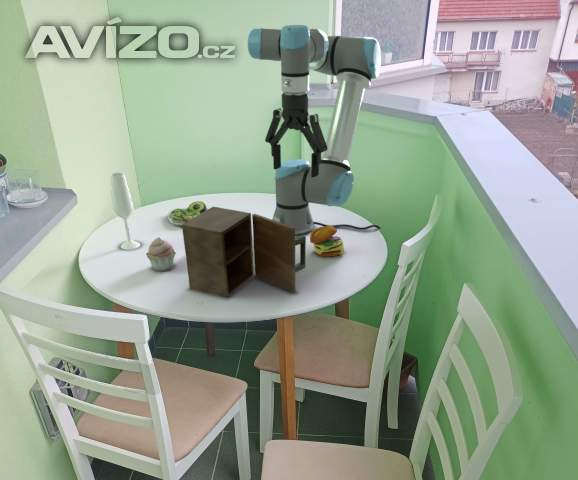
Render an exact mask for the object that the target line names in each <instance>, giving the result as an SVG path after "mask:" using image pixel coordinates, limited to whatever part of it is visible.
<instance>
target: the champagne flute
mask: <svg viewBox="0 0 578 480" xmlns="http://www.w3.org/2000/svg"><path fill="white" fill-rule="evenodd" d="M109 184H110V192H111V193H110V194H111V203H112V210H113V212H114V214H115V215H116V216H118V217H119V218H121V219H123V223H124V228H125V229H124V230H125V233H126V239H127V240H125V242H124V243H122V244H120V249H122V250H126V251H131V250H136V249H139V248H140V246H141V243H140V242H138V241H135V240H133V239H132V238H131V232H130V227H129V226H130V225H129V221H128V218H129V217H130V216H131V215H132V214H133V213H134V210H135V207H134V204H133V200H132V195H131V192H130V189H129V186H128V181H127V177H126V174H125V173H124V172H112V173H110V174H109Z"/></svg>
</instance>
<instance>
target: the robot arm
mask: <svg viewBox="0 0 578 480" xmlns="http://www.w3.org/2000/svg"><path fill="white" fill-rule="evenodd" d="M247 50H248V51H247V52H248V54H249V55H250V57H251V58H252V59H254V60H260V61H262V60H264V61H273V62H280V66H281V67H280V69H281V70H280V78H281V91H282V94H281V107H279V108H276V109H273V111H272V119H271V122H270V125H269V128H268V130H267V133H266V136H265V138H264V142H265V143H268V144H270V146H271V147H270V152H271V153H270V154H271V157H273V158H272V159H273V161H272V162H273V164H272V165H273V170H275V175H274V181H275V210H274V213H273V216H272V220H274V221H277V222H280V223H283V224H286V225H289V226H292V227H295V236H300V235H306V234H308V233H310V232H312V231H313V230H314V225H317V226H320V227H324V226H329V224H325V223H322V222H318V221H314V219H313V216H312V213H311V209H310V204H316V205H323V206H327V207H337V208H338V207H342V206H343V205H345V204H346V203H347V202H348V201H349V198H350V196H351V194H352V191H353V188H354V180H355V178H354V177H355V176H354V174H353V172H352V171H351V169H352V167H351V166H350V164H349V157H350V154H351V149H352V146H353V140H354V136H355V132H356V128H357V124H358V119H359V116H360V115H359V114H360V110H361V105H362V102H363V98H364V93H365V90H367V89H368V88H370V87H371V82H372V80H375V79H378V77H379V75H380V73H381V72H380V71H381V64H382V54H381V47H380V43H379V41H378V40H377V38H375V37H369V36H366V35H365V36H350V35H347V36H346V35H327V34H326V33H325V32H324V30H322V29H319V28H310V29H309V26H307V25H304V24H290V25H284V26H282V27H281V29H277V28H263V27H261V28H253V29H251V30H250V31H249V34H248V36H247ZM310 71H314V72H318V73H321V74H324V75H328V76H332V77H333V76H334V77H335V79H336V82H337V83H338V89H337V92H336V97H335V102H334V105H333V110H332V114H331V119H330V123H329V127H328V132H327V137H326V139H325V137H324V134H323V131H322V127H321V125H320V120H319V114H318V113H314V114H309V107H310V94H309V91H310ZM282 119H283V122H282V123H281V124H280V122H281V120H282ZM279 126H280V127H279ZM278 128H279V129H278ZM288 130H295V131H299V132H300V133H301V134H302V135H303V136H304V138H305V140H306V141H307V143H308V145H309V146H310V149H311V150H312V151H313V152H312V153H311V156H310V157H311V159H310V160H311V164H310V161H309V160H307V159H302V158H301V159H300V158H299V159H298V158H297V159H290V160H285V161H282V151H281V149H282V148H281V147H282V146H281V144H280V141H281V139H282V138H283V137H284V135H285V134H286V132H288ZM309 203H310V204H309ZM332 226H333V227H335V228H343V227H345V228H349V229H354V230H361V231H363V230H368V229H372V228H376V229H378V230H381V229H382V228H381V227H380V226H379V225H377V224H371V225H367V226H364V227H363V226H362V227H359V226H355V225H351V224H345V223H343V224H333V225H332Z"/></svg>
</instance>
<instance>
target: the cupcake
mask: <svg viewBox="0 0 578 480" xmlns="http://www.w3.org/2000/svg"><path fill="white" fill-rule="evenodd" d="M176 253H177V252H176V251H175V249H174V247H173V245H172V244H170V243H169V242H168V241H167V240H165V239H162V238H161V237H160V236H159V237H155V238H154V239H153V240H152V241H151V244H150V245H149V246H148V251H147V252H146V253H145V255H146V258H147V259H148V260H149V262H150V264H151V267H152V269H153V270H154V271H158V272H165V271H169V270H171V269H172V268H173V266H174V260H175V256H176Z"/></svg>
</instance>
